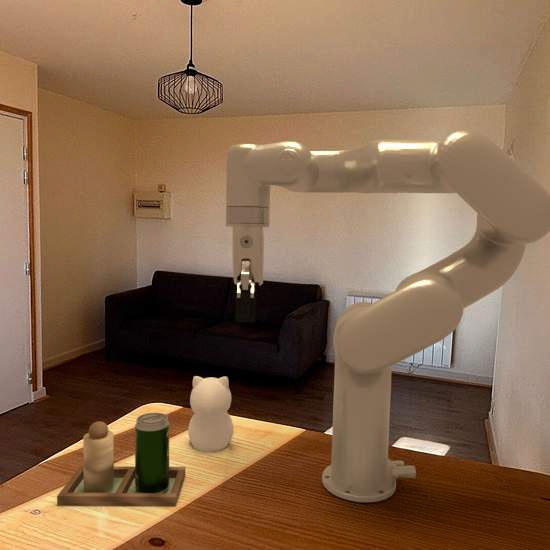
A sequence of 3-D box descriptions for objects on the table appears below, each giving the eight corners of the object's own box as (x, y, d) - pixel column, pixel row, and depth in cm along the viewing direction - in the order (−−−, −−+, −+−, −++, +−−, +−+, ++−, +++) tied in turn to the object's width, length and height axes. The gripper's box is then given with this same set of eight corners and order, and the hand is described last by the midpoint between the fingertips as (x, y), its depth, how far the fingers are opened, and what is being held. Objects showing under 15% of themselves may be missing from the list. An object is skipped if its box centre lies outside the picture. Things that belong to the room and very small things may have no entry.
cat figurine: (183, 459, 93) (183, 382, 92) (193, 431, 106) (194, 363, 104) (231, 460, 93) (232, 383, 92) (235, 432, 106) (236, 364, 104)
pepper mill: (117, 482, 82) (117, 416, 81) (108, 496, 78) (108, 427, 77) (89, 481, 82) (89, 416, 81) (79, 496, 78) (78, 427, 77)
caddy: (185, 480, 85) (185, 466, 85) (175, 511, 76) (175, 496, 75) (80, 479, 85) (80, 466, 84) (57, 511, 75) (57, 496, 75)
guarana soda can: (141, 502, 76) (141, 427, 75) (131, 486, 81) (130, 416, 80) (174, 492, 79) (174, 420, 78) (162, 478, 84) (162, 410, 83)
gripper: (270, 217, 76) (268, 326, 78) (268, 220, 93) (267, 309, 95) (221, 216, 76) (220, 325, 77) (229, 219, 93) (228, 308, 95)
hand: (246, 316), depth 86 cm, fingers open, 9 cm apart
